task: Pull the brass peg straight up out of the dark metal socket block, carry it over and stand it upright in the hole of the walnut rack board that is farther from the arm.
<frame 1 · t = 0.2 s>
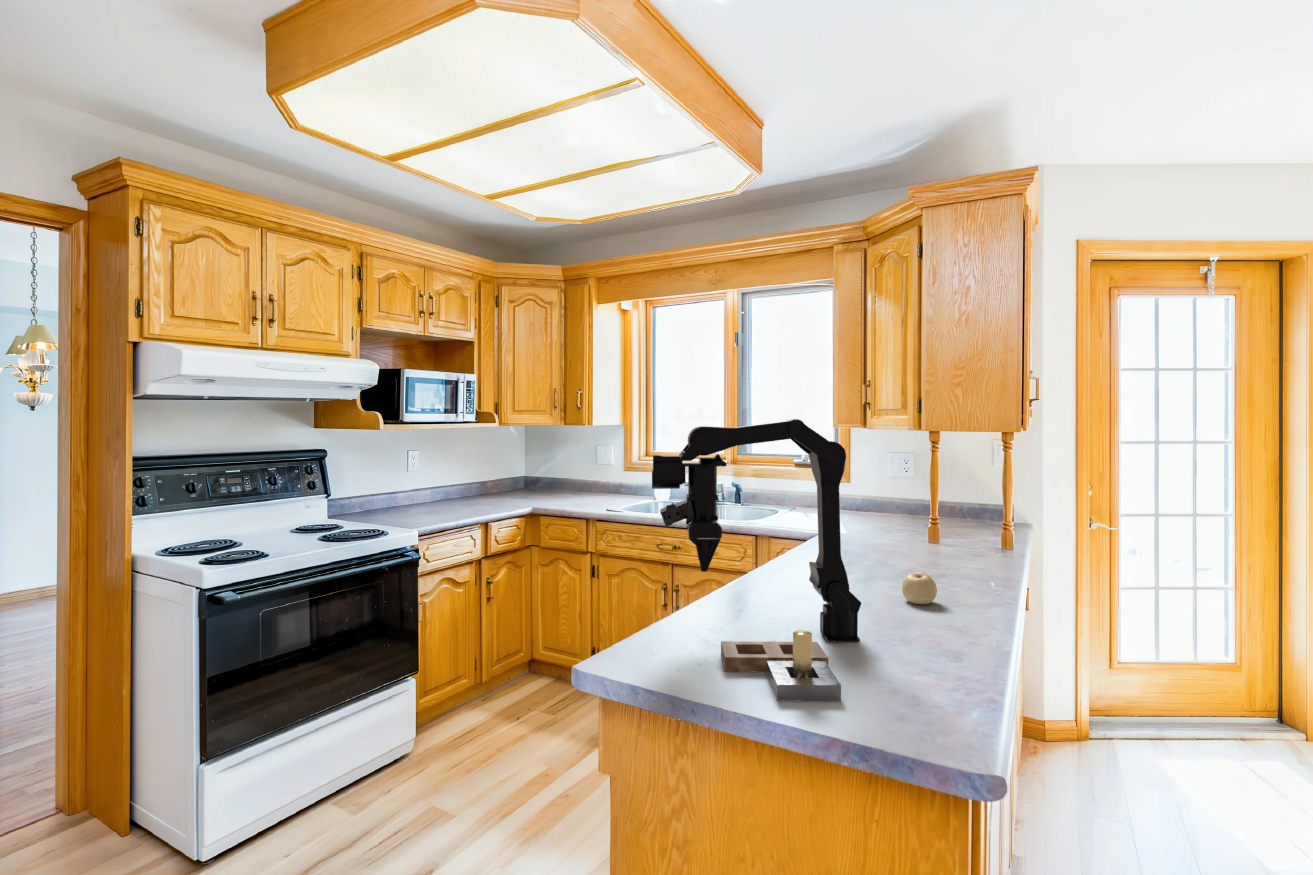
hand: (702, 565, 128), 15 cm above the counter, tool pointing down, fingers open, 9 cm apart
peg: (802, 660, 105), in the socket block
rack: (772, 662, 115), on the counter
apple: (918, 603, 154), on the counter
socket block: (802, 687, 105), on the counter
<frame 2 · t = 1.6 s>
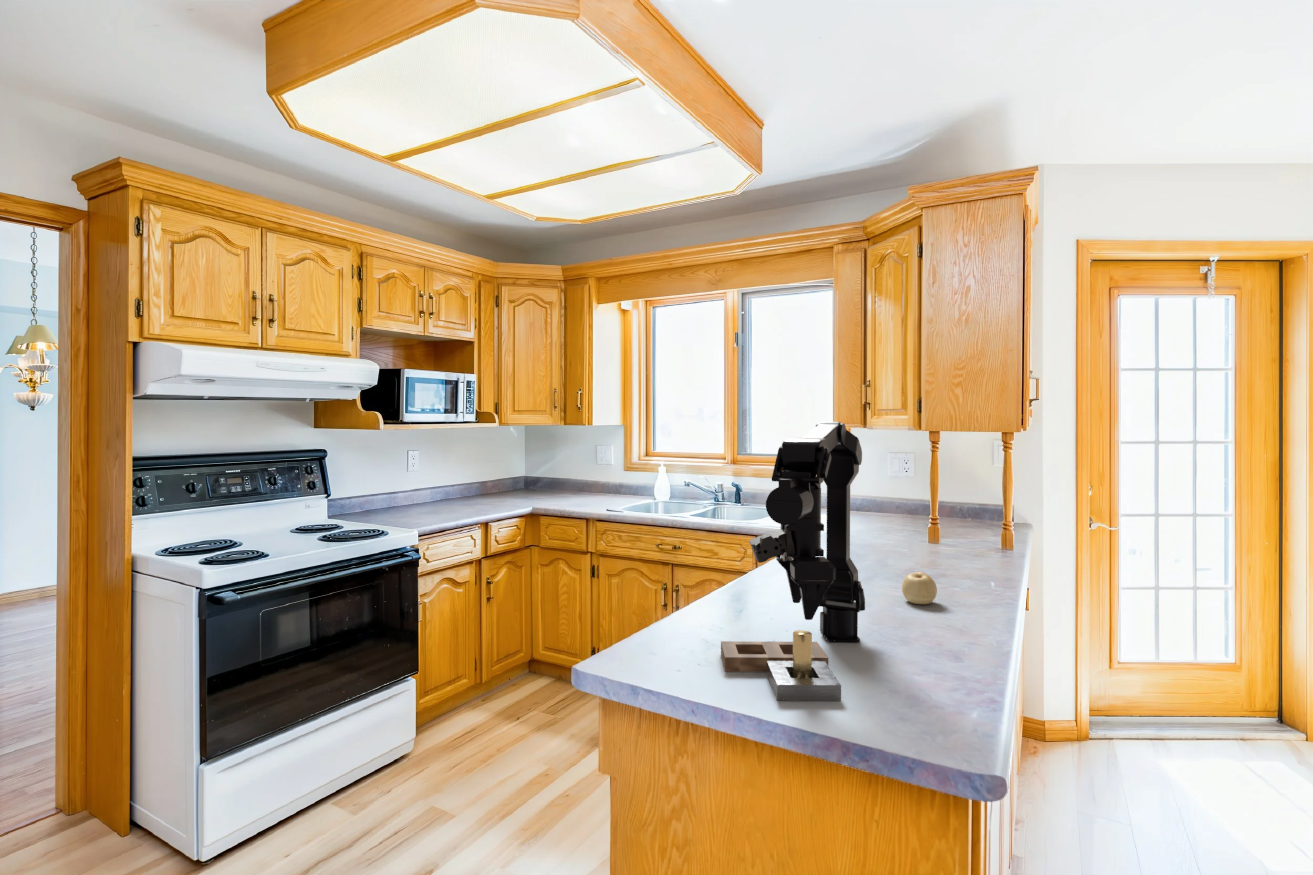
hand: (802, 610, 104), 13 cm above the counter, tool pointing down, fingers open, 9 cm apart
nothing on the counter moved.
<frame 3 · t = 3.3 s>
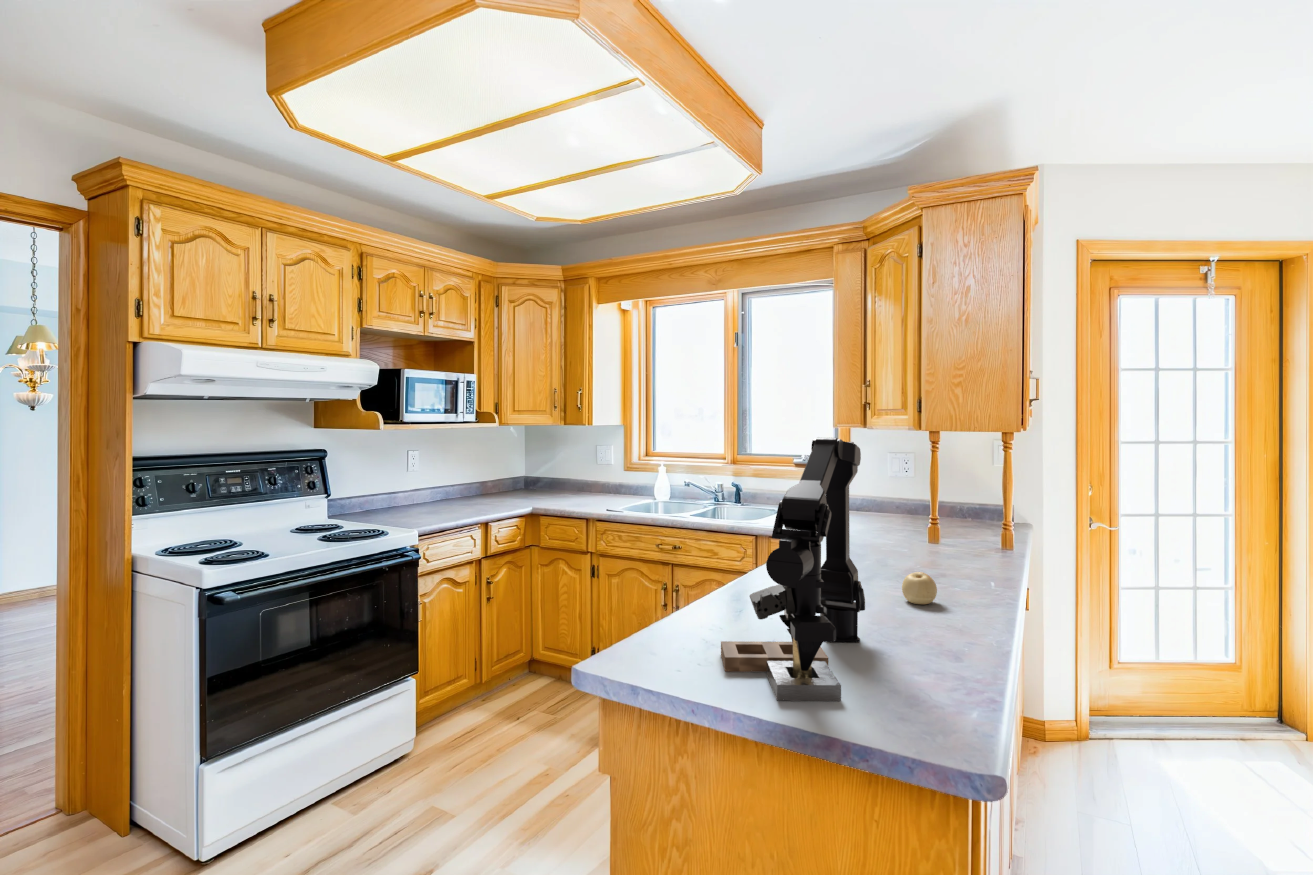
hand: (802, 666, 105), 4 cm above the counter, tool pointing down, fingers closed on peg, 3 cm apart
peg: (802, 660, 105), in the socket block, touching gripper
everything else where it was.
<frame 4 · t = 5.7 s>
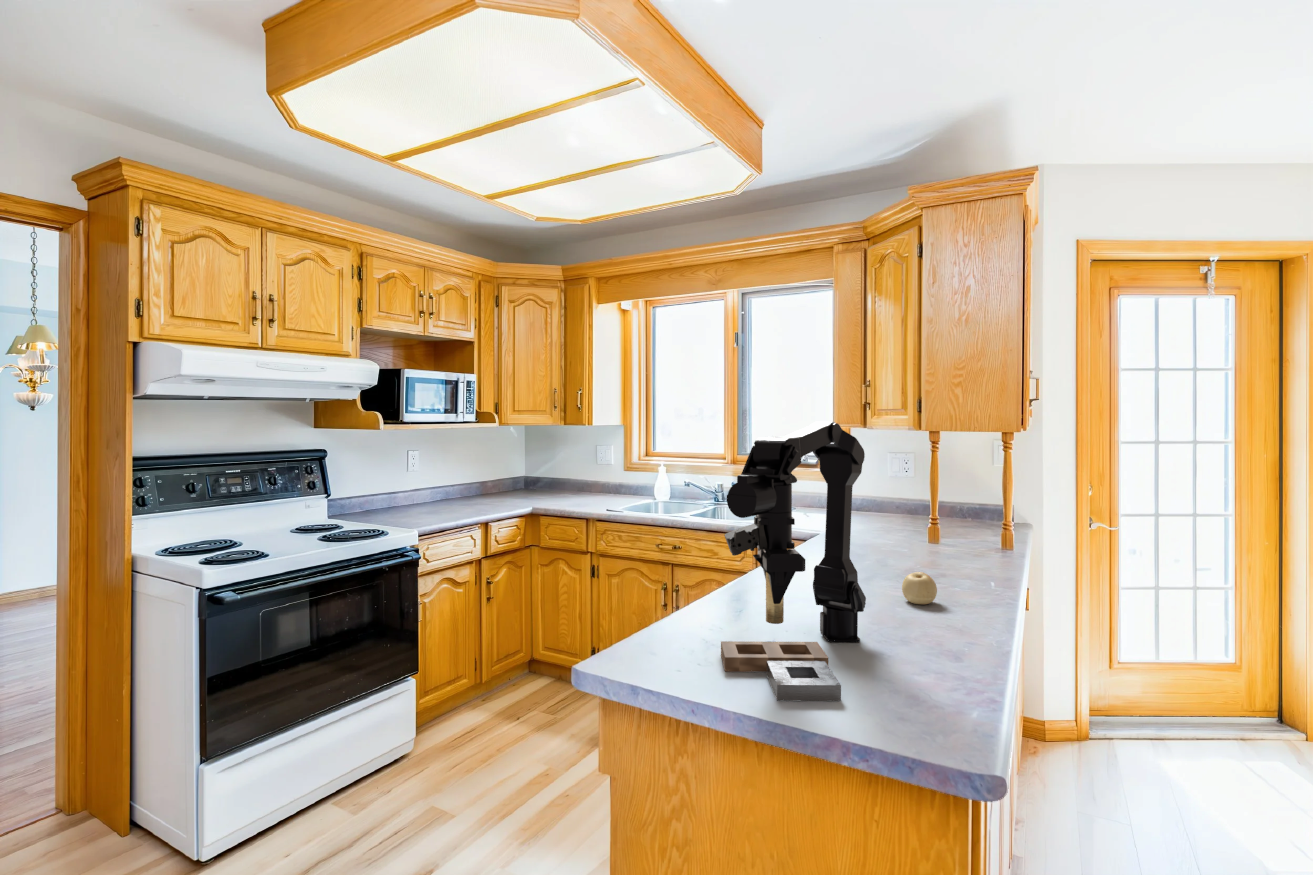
hand: (774, 600, 110), 13 cm above the counter, tool pointing down, fingers closed on peg, 3 cm apart
peg: (774, 595, 110), point 14 cm above the counter, touching gripper
everything else where it was.
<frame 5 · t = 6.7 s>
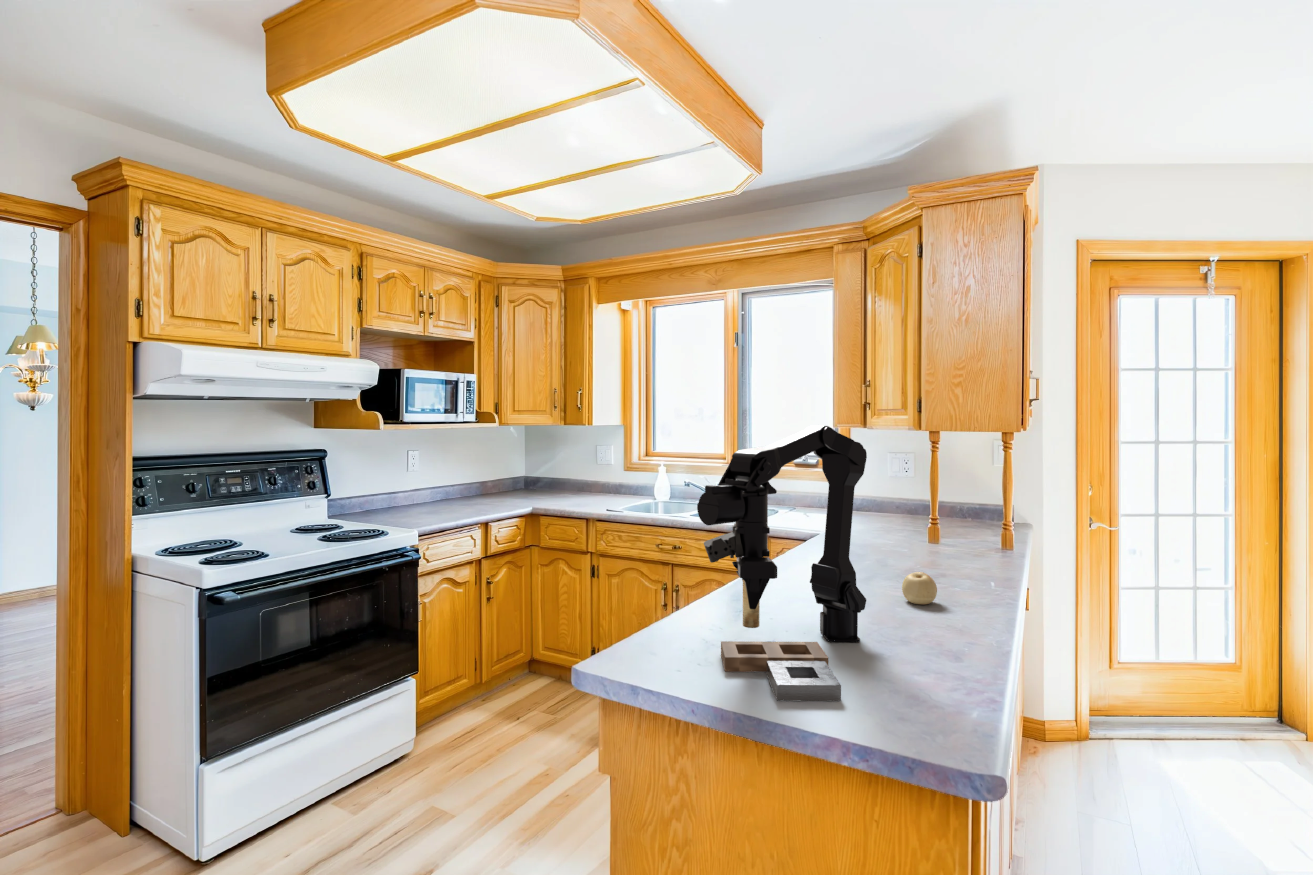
hand: (751, 606, 115), 10 cm above the counter, tool pointing down, fingers closed on peg, 3 cm apart
peg: (751, 600, 115), point 11 cm above the counter, touching gripper
everything else where it was.
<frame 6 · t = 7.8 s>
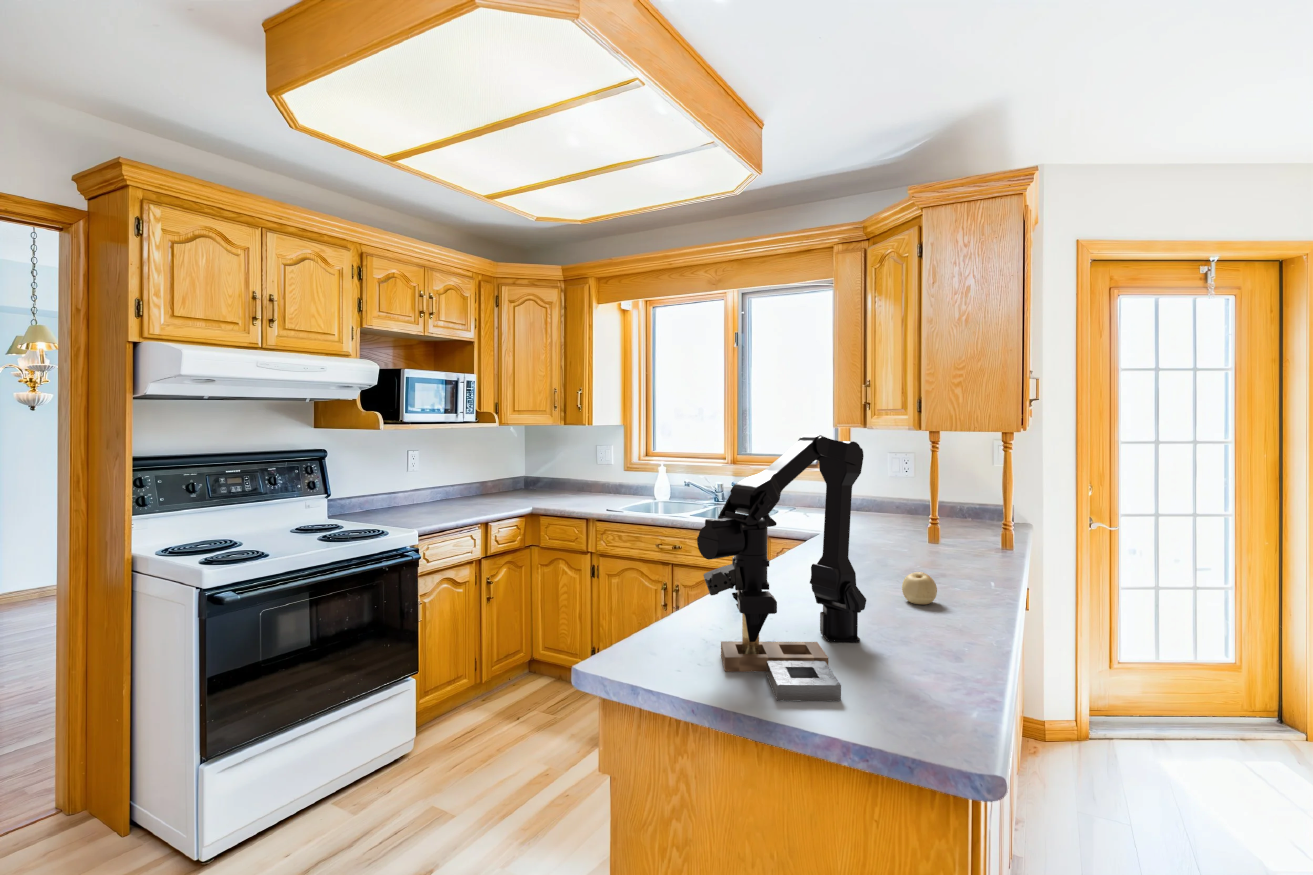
hand: (750, 638, 115), 4 cm above the counter, tool pointing down, fingers closed on peg, 3 cm apart
peg: (750, 632, 115), in the rack, point 5 cm above the counter, touching gripper
everything else where it was.
when the fingers open (4 cm above the counter, at t = 7.9 s): peg stays where it is, resting in rack.
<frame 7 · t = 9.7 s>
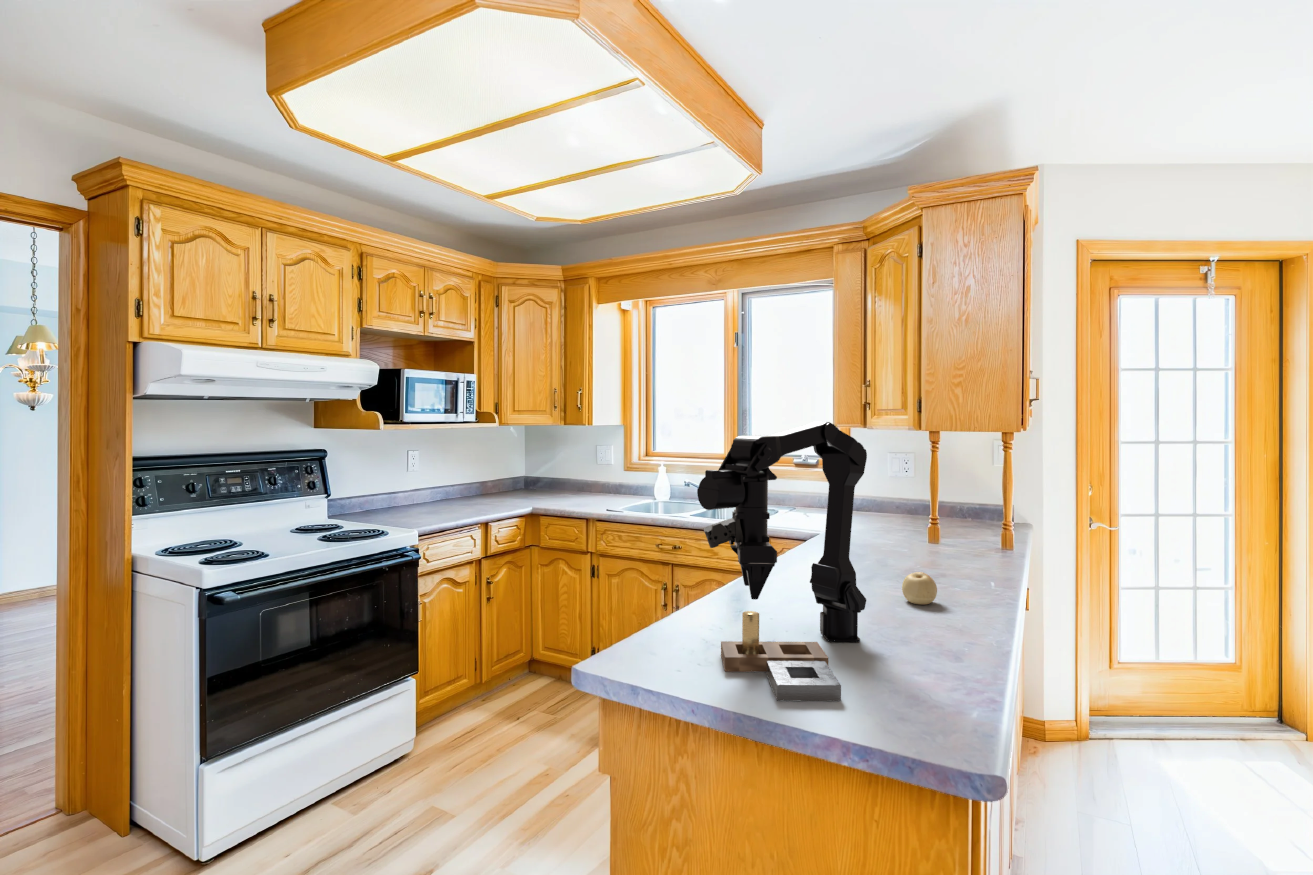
hand: (750, 592, 115), 13 cm above the counter, tool pointing down, fingers open, 9 cm apart
peg: (750, 638, 115), in the rack
everything else where it was.
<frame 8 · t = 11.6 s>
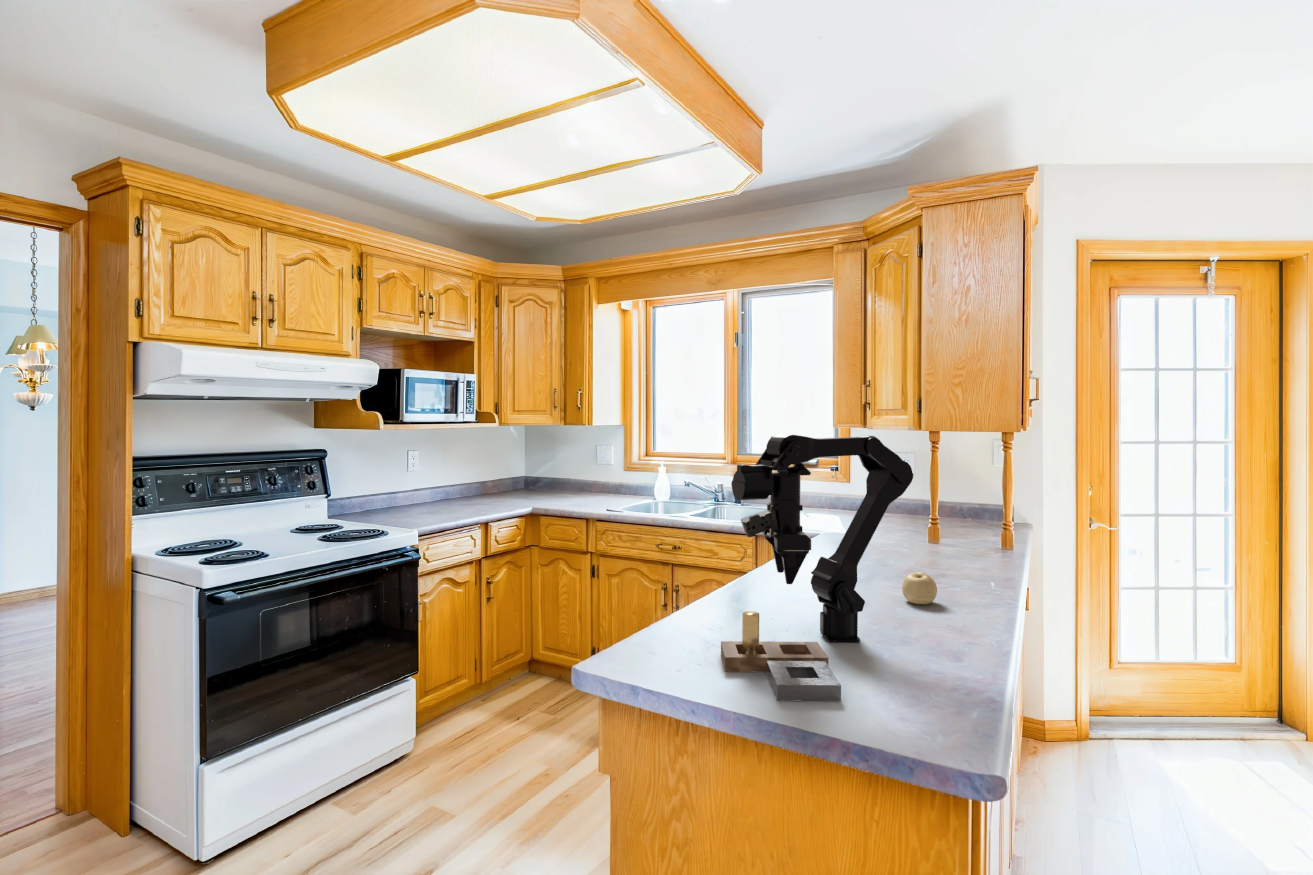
hand: (784, 577, 125), 13 cm above the counter, tool pointing down, fingers open, 9 cm apart
nothing on the counter moved.
at the end: peg 0.0 cm from the target spot on the rack, point 4.5 cm above the rack's base; peg tilted 0°; the gripper is holding nothing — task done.
